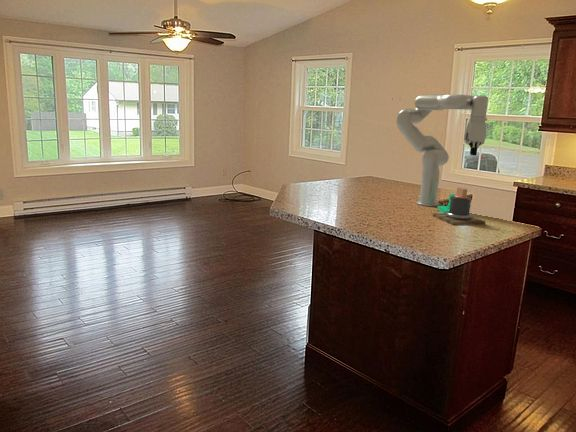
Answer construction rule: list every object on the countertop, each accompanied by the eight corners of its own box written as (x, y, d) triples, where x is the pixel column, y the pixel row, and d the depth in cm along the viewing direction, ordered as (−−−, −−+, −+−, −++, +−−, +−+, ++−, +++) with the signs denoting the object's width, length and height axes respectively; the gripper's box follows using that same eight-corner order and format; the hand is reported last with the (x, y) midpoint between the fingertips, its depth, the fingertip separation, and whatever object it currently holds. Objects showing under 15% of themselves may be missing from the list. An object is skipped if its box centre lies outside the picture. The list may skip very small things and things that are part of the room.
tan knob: (450, 204, 245) (452, 187, 243) (461, 204, 247) (464, 187, 245) (458, 207, 239) (460, 189, 237) (469, 206, 241) (471, 189, 239)
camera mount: (436, 210, 267) (438, 192, 264) (449, 210, 268) (451, 192, 266) (447, 215, 255) (449, 196, 253) (460, 215, 257) (463, 196, 254)
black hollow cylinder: (441, 214, 249) (443, 195, 246) (462, 214, 251) (464, 195, 249) (454, 220, 237) (457, 200, 235) (476, 219, 240) (478, 200, 238)
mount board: (432, 216, 251) (433, 213, 251) (463, 215, 255) (464, 213, 255) (452, 224, 234) (452, 221, 234) (484, 224, 238) (485, 221, 238)
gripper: (485, 120, 260) (481, 154, 264) (461, 119, 256) (456, 154, 260) (494, 120, 252) (489, 156, 257) (469, 119, 249) (464, 155, 253)
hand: (473, 155), depth 258 cm, fingers closed
